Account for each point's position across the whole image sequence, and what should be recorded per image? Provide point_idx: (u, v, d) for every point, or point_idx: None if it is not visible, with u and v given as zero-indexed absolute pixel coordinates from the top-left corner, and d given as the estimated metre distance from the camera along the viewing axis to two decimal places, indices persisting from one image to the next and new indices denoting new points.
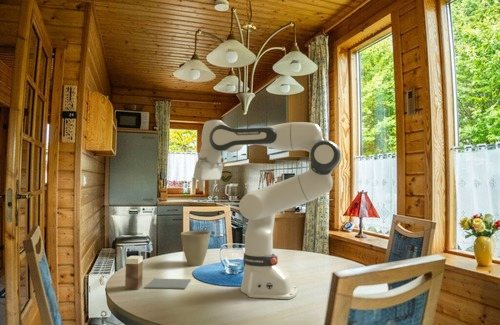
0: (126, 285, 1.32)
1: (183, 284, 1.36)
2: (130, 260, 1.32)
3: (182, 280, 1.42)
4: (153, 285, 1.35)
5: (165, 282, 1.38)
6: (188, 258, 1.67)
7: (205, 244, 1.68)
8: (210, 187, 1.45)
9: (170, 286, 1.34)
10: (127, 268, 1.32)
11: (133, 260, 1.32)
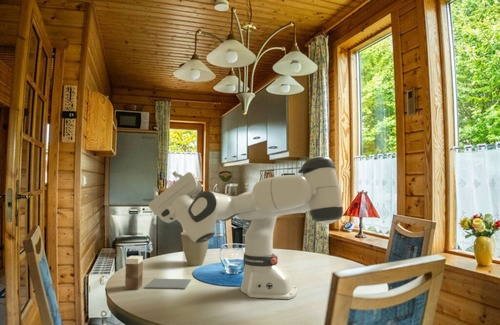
0: (126, 285, 1.32)
1: (183, 284, 1.36)
2: (130, 260, 1.32)
3: (182, 280, 1.42)
4: (153, 285, 1.35)
5: (165, 282, 1.38)
6: (188, 258, 1.67)
7: (205, 244, 1.68)
8: (157, 189, 1.29)
9: (170, 286, 1.34)
10: (127, 268, 1.32)
11: (133, 260, 1.32)
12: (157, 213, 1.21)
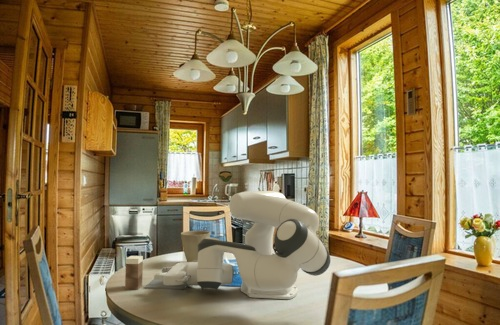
0: (126, 285, 1.32)
1: (183, 284, 1.36)
2: (130, 260, 1.32)
3: None
4: (153, 285, 1.35)
5: None
6: (188, 258, 1.67)
7: None
8: (164, 270, 1.37)
9: (170, 286, 1.34)
10: (127, 268, 1.32)
11: (133, 260, 1.32)
12: None
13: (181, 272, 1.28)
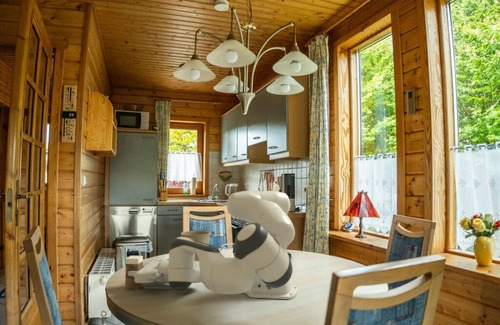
0: (126, 285, 1.32)
1: None
2: (130, 260, 1.32)
3: None
4: (153, 285, 1.35)
5: None
6: None
7: None
8: None
9: (170, 286, 1.34)
10: (127, 268, 1.32)
11: (133, 260, 1.32)
12: None
13: (153, 270, 1.29)
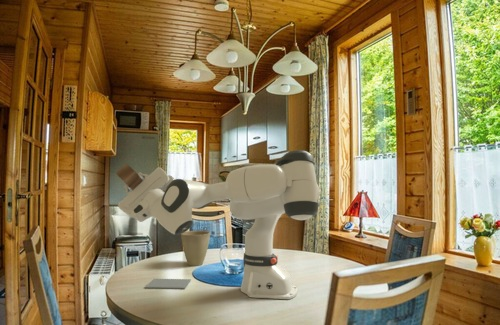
0: None
1: (183, 284, 1.36)
2: None
3: (182, 280, 1.42)
4: (153, 285, 1.35)
5: (165, 282, 1.38)
6: (188, 258, 1.67)
7: (205, 244, 1.68)
8: None
9: (170, 286, 1.34)
10: None
11: None
12: (129, 211, 1.14)
13: None
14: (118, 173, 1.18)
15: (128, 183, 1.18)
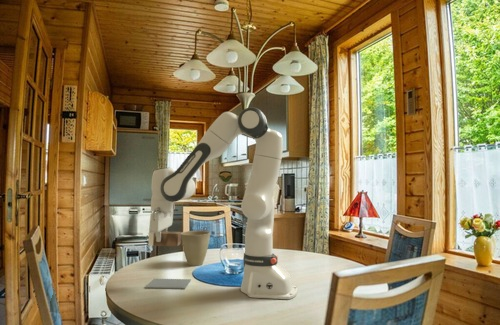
0: (173, 245, 1.36)
1: (183, 284, 1.36)
2: (150, 241, 1.36)
3: (182, 280, 1.42)
4: (153, 285, 1.35)
5: (165, 282, 1.38)
6: (188, 258, 1.67)
7: (205, 244, 1.68)
8: None
9: (170, 286, 1.34)
10: (157, 243, 1.36)
11: (150, 238, 1.36)
12: None
13: None
14: (180, 241, 1.40)
15: None
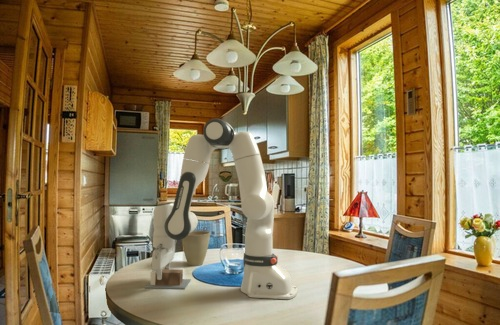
0: (175, 284, 1.35)
1: (183, 284, 1.36)
2: (152, 280, 1.35)
3: None
4: (153, 285, 1.35)
5: None
6: (188, 258, 1.67)
7: (205, 244, 1.68)
8: None
9: (170, 286, 1.34)
10: (159, 283, 1.35)
11: (152, 277, 1.35)
12: None
13: None
14: (182, 279, 1.39)
15: (176, 269, 1.40)
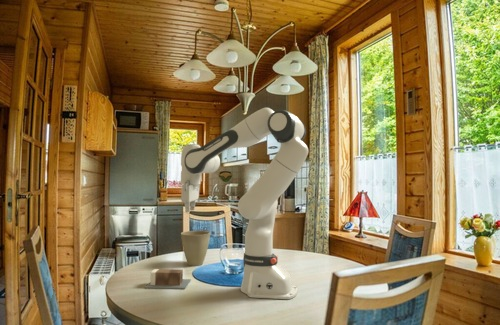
0: (175, 284, 1.35)
1: (183, 284, 1.36)
2: (152, 280, 1.35)
3: None
4: (153, 285, 1.35)
5: None
6: (188, 258, 1.67)
7: (205, 244, 1.68)
8: (191, 208, 1.54)
9: (170, 286, 1.34)
10: (159, 283, 1.35)
11: (152, 277, 1.35)
12: (199, 186, 1.59)
13: None
14: (182, 279, 1.39)
15: (176, 269, 1.40)
